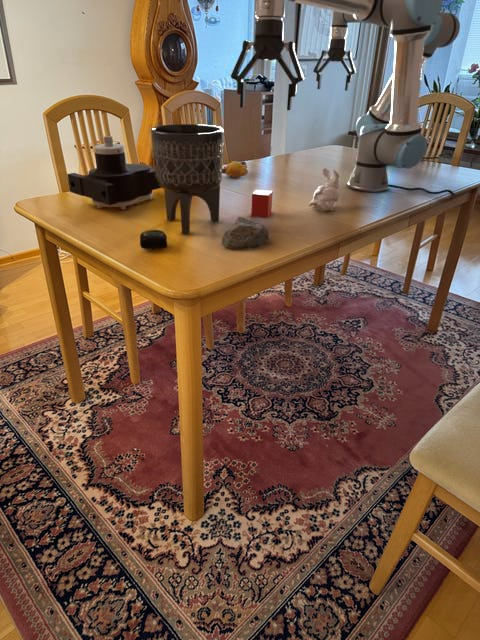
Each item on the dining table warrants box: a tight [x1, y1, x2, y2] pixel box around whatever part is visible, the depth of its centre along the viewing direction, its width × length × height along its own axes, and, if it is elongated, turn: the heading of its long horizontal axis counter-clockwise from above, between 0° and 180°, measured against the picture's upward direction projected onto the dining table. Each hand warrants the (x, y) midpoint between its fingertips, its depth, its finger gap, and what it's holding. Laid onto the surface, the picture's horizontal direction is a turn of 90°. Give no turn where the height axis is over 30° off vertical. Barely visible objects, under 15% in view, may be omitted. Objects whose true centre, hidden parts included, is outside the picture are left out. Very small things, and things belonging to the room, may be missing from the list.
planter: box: [149, 123, 225, 235], centre depth 128 cm, size 20×20×26 cm
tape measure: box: [139, 229, 168, 250], centre depth 117 cm, size 7×7×4 cm
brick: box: [250, 189, 273, 219], centre depth 143 cm, size 6×5×7 cm
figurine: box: [308, 167, 340, 211], centre depth 148 cm, size 8×15×13 cm, turn 145°
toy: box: [222, 160, 249, 178], centre depth 190 cm, size 11×6×15 cm
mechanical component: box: [67, 135, 162, 210], centre depth 149 cm, size 22×21×30 cm
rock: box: [221, 216, 270, 250], centre depth 119 cm, size 13×9×6 cm, turn 131°
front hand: (265, 108), depth 129 cm, fingers open, 13 cm apart
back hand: (332, 89), depth 220 cm, fingers open, 13 cm apart
